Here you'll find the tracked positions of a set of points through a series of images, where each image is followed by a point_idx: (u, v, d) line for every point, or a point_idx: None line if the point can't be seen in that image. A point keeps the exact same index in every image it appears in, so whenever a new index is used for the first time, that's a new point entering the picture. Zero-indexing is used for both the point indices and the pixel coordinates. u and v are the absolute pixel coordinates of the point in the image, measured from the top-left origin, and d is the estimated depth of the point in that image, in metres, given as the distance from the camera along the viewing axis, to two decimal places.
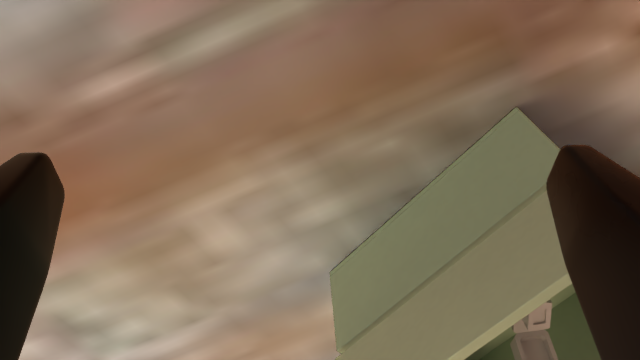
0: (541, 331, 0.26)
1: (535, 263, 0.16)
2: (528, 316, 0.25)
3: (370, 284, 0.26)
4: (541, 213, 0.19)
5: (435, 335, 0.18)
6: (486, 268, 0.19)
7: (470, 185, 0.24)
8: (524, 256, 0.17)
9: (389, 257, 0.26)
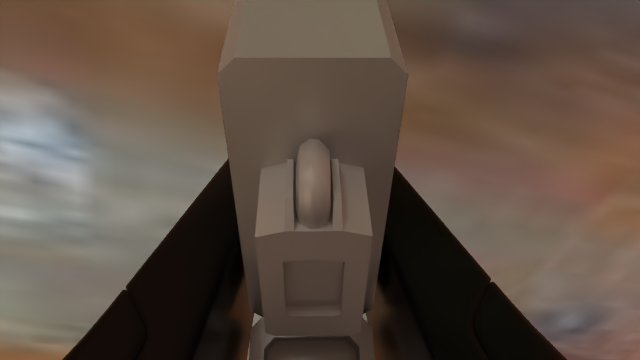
0: None
1: None
2: (261, 280, 0.05)
3: None
4: None
5: None
6: None
7: None
8: None
9: None
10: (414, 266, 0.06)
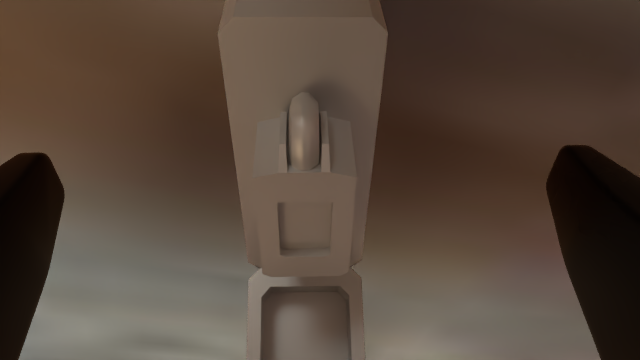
0: None
1: None
2: (258, 221, 0.06)
3: None
4: None
5: None
6: None
7: None
8: None
9: None
10: None
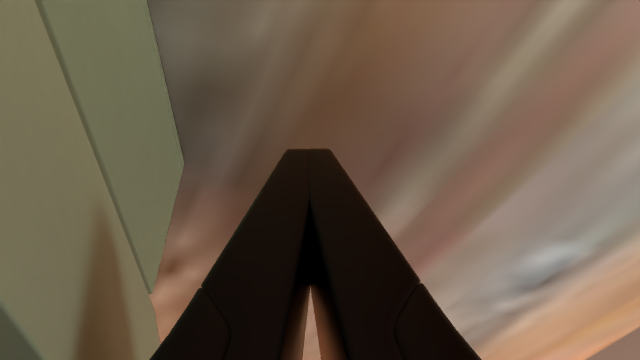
0: None
1: None
2: None
3: None
4: (146, 318, 0.12)
5: (82, 284, 0.07)
6: (119, 280, 0.10)
7: (147, 121, 0.15)
8: None
9: None
10: (344, 267, 0.06)
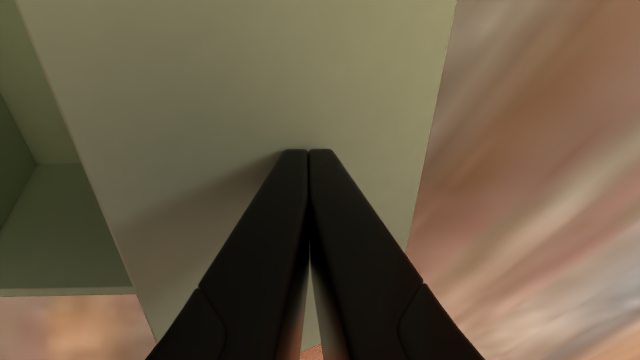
0: None
1: None
2: None
3: None
4: None
5: (215, 172, 0.08)
6: None
7: None
8: None
9: None
10: (347, 267, 0.06)
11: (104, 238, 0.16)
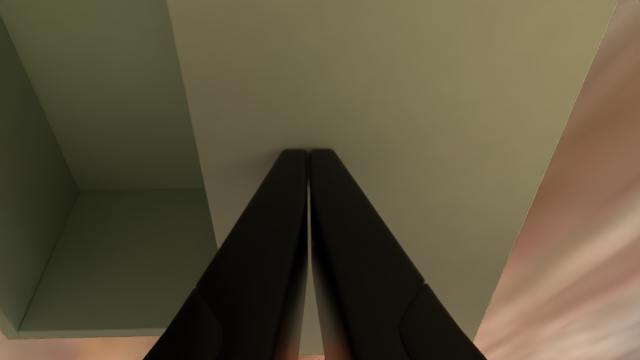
0: None
1: None
2: None
3: None
4: None
5: None
6: None
7: None
8: None
9: None
10: (349, 267, 0.06)
11: (158, 273, 0.15)
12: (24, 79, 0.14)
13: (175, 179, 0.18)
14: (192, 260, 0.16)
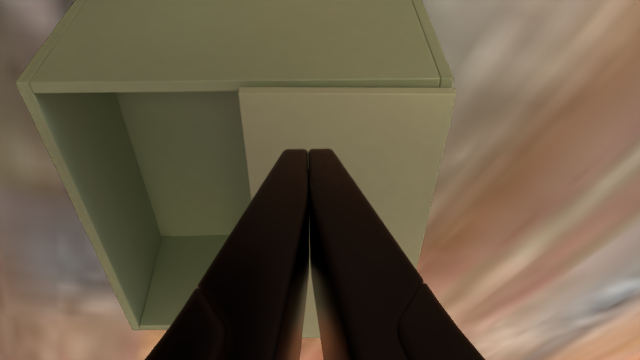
0: None
1: None
2: None
3: None
4: None
5: None
6: None
7: None
8: None
9: None
10: (347, 268, 0.06)
11: None
12: (140, 177, 0.24)
13: (223, 229, 0.28)
14: None
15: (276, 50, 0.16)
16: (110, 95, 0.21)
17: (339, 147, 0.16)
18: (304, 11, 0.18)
